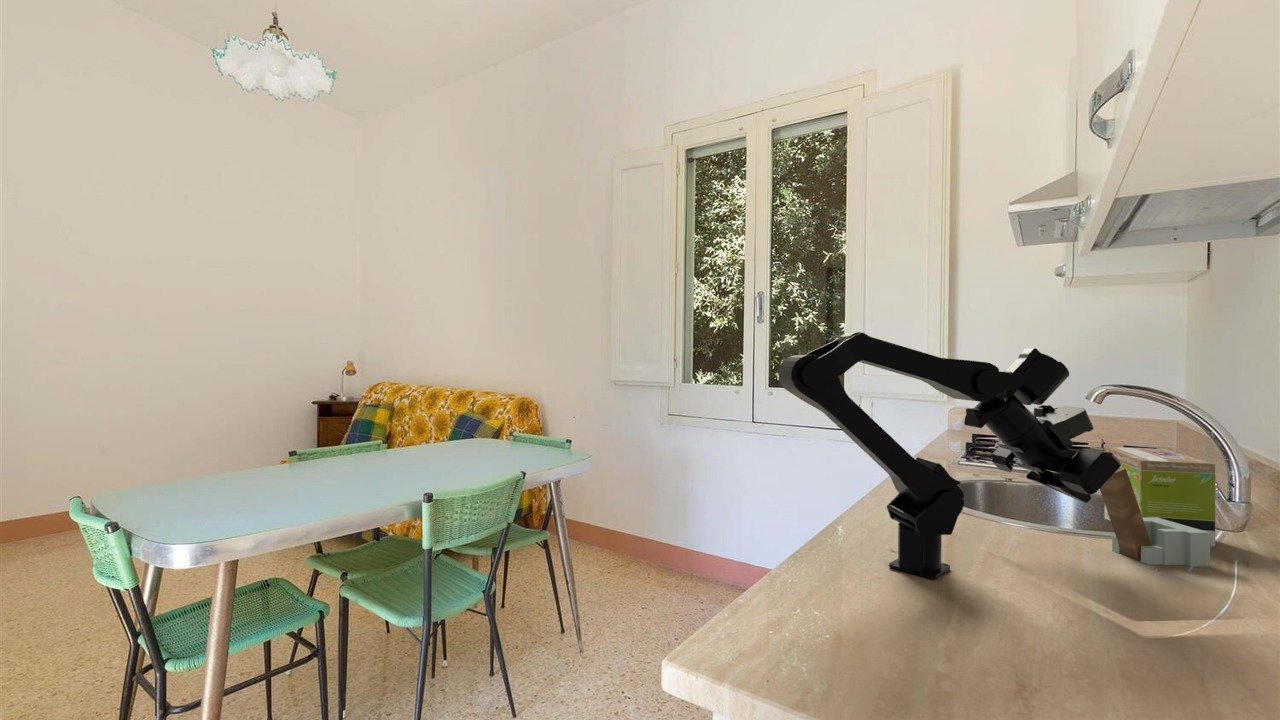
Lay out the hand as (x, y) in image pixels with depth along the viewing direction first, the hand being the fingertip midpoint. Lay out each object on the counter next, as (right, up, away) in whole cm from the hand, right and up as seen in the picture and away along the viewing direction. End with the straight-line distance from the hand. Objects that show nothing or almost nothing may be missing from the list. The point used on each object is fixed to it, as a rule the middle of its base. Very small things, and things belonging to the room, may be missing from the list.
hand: (1087, 500), depth 86 cm
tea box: (+23, -10, +14) cm, 29 cm away
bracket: (+10, -10, +1) cm, 14 cm away
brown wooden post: (+8, -9, 0) cm, 12 cm away
